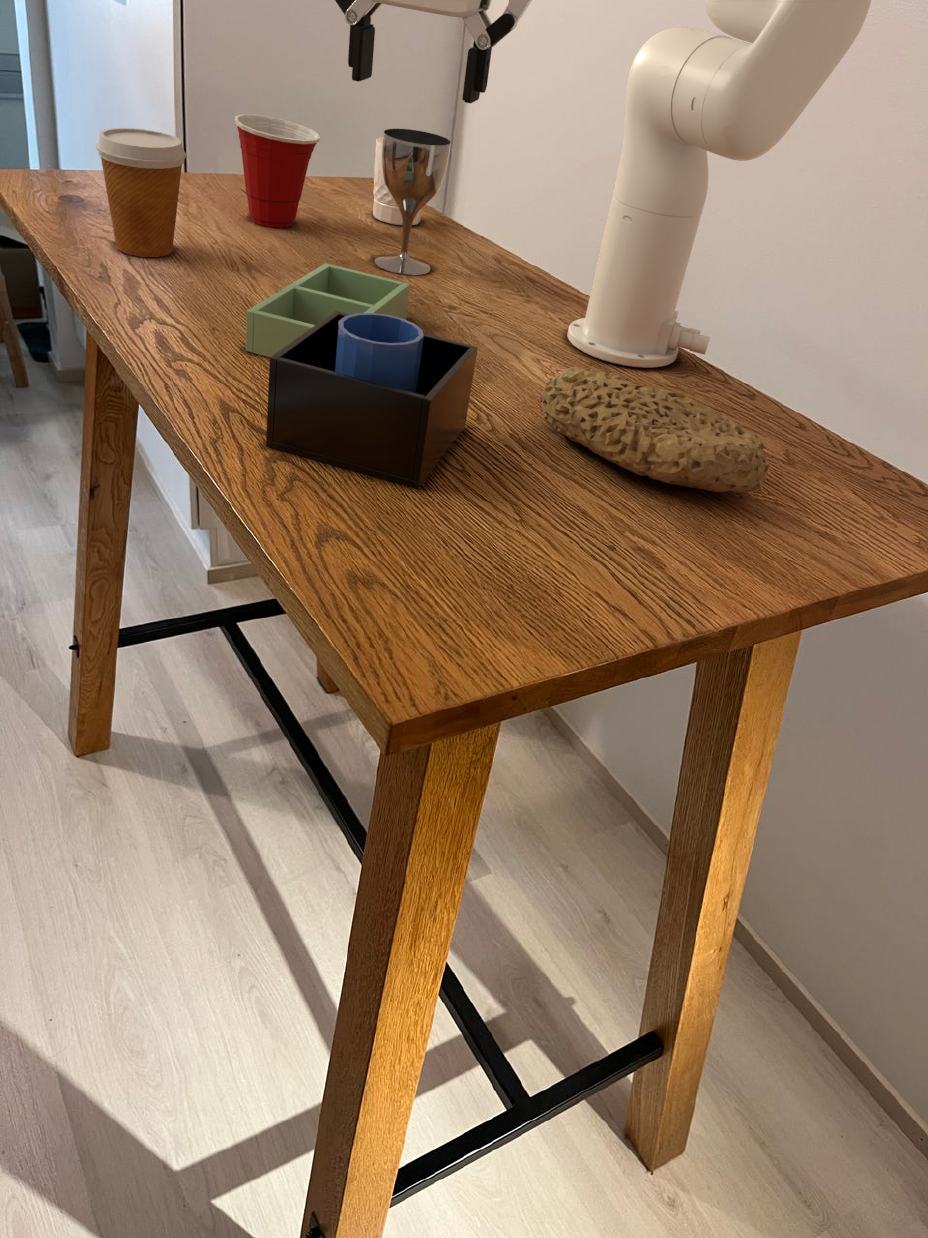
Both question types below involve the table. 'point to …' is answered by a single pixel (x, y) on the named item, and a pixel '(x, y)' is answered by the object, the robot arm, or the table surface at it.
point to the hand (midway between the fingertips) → (415, 89)
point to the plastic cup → (274, 166)
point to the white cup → (385, 194)
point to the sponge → (654, 431)
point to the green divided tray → (320, 305)
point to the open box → (367, 407)
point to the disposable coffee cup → (142, 188)
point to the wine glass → (411, 184)
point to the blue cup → (379, 349)
